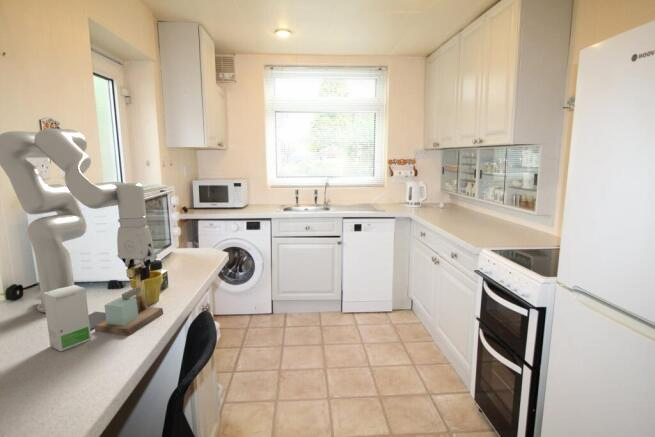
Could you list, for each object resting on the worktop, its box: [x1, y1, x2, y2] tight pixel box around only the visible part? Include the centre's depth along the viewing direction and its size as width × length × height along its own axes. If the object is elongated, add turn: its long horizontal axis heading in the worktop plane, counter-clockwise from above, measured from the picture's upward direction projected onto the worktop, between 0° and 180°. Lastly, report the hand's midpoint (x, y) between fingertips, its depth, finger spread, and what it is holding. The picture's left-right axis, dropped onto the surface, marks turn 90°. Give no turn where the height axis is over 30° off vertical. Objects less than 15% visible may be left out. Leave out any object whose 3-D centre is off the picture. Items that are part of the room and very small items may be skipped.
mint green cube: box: [104, 296, 138, 326], centre depth 112 cm, size 6×6×6 cm
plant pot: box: [129, 271, 163, 306], centre depth 131 cm, size 10×10×10 cm
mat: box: [88, 311, 106, 332], centre depth 116 cm, size 9×11×1 cm
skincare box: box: [43, 284, 92, 352], centre depth 103 cm, size 8×7×16 cm
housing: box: [94, 305, 164, 336], centre depth 116 cm, size 12×15×2 cm
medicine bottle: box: [149, 258, 170, 294], centre depth 142 cm, size 7×7×12 cm
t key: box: [121, 263, 150, 310], centre depth 118 cm, size 2×11×14 cm, turn 166°
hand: (139, 277), depth 119 cm, fingers open, 4 cm apart
